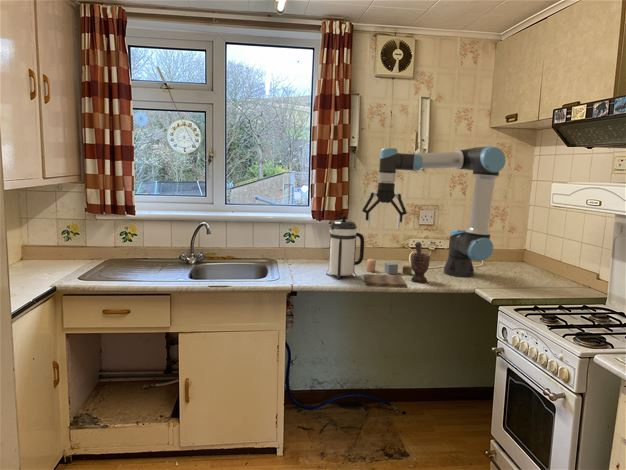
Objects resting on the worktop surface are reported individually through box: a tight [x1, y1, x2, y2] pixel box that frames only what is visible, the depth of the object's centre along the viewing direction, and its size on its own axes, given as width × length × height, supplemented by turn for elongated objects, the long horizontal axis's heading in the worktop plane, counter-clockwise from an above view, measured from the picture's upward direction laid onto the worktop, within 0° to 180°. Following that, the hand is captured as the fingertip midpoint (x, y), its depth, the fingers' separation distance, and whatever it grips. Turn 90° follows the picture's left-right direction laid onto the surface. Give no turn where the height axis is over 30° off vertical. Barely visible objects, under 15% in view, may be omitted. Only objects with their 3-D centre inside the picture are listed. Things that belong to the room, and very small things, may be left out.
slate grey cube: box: [383, 261, 399, 275], centre depth 232 cm, size 5×5×5 cm
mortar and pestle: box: [410, 241, 431, 284], centre depth 214 cm, size 12×9×20 cm
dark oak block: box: [401, 265, 413, 276], centre depth 231 cm, size 4×4×4 cm
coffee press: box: [325, 214, 365, 281], centre depth 220 cm, size 17×16×30 cm
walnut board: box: [363, 273, 408, 288], centre depth 213 cm, size 18×16×2 cm
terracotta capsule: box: [366, 258, 377, 273], centre depth 234 cm, size 4×4×6 cm
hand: (383, 228), depth 210 cm, fingers open, 13 cm apart
